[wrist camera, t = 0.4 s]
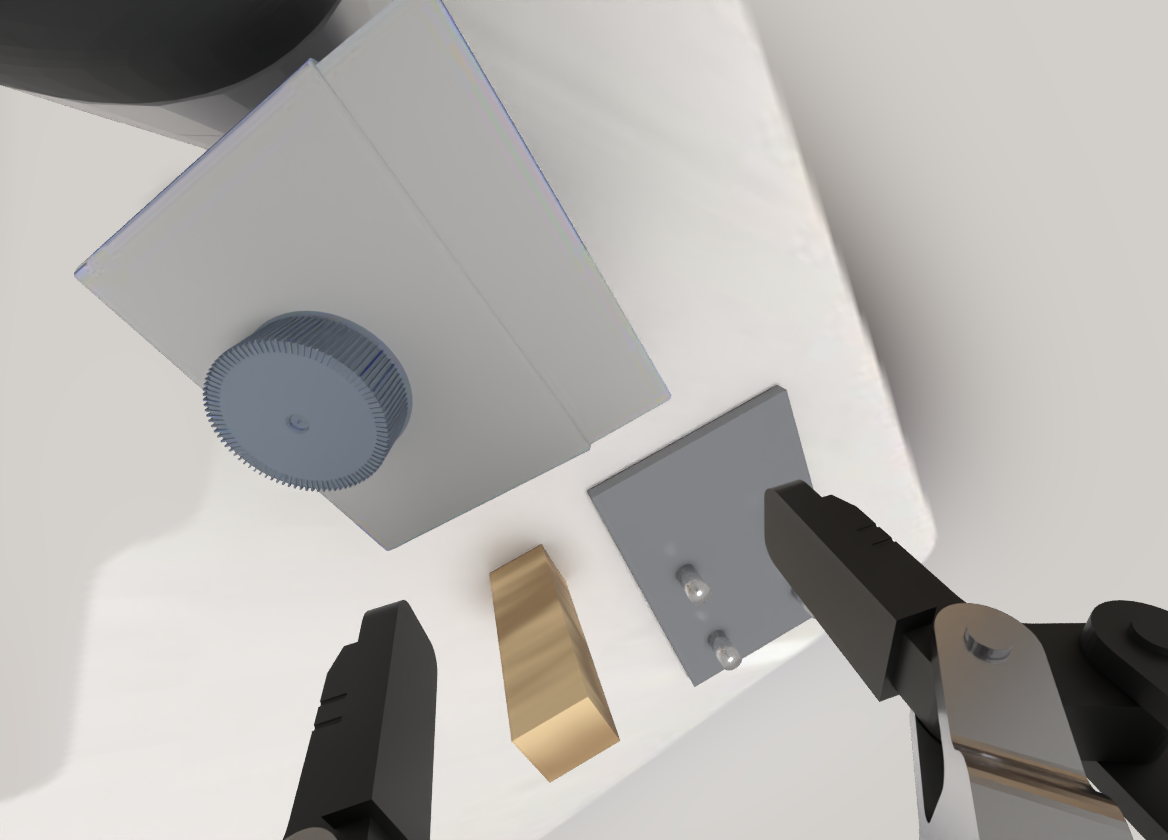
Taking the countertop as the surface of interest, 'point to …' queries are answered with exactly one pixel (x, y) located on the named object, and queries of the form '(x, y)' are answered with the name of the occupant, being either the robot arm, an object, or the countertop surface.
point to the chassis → (711, 533)
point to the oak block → (547, 668)
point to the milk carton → (382, 287)
